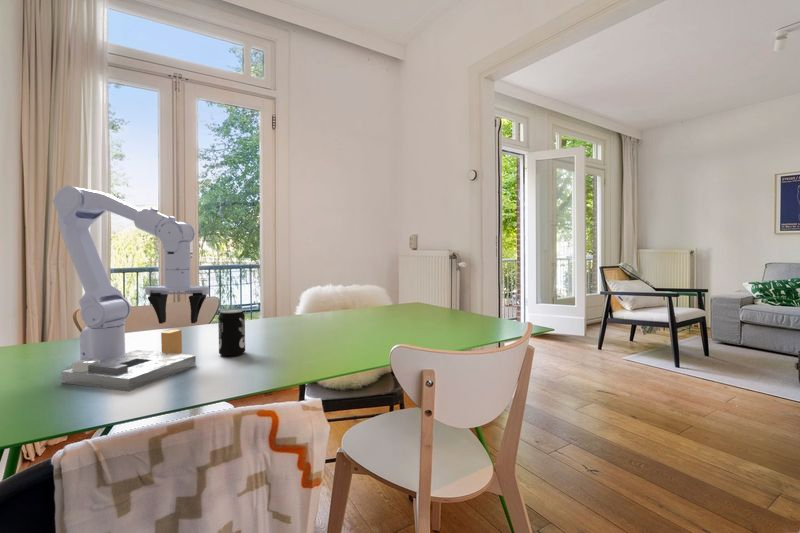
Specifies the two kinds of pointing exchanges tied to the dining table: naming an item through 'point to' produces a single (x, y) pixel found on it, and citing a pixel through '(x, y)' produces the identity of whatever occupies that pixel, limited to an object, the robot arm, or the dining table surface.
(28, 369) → the dining table surface
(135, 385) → the gray slotted plate
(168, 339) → the orange rectangular block
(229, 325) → the beverage can
